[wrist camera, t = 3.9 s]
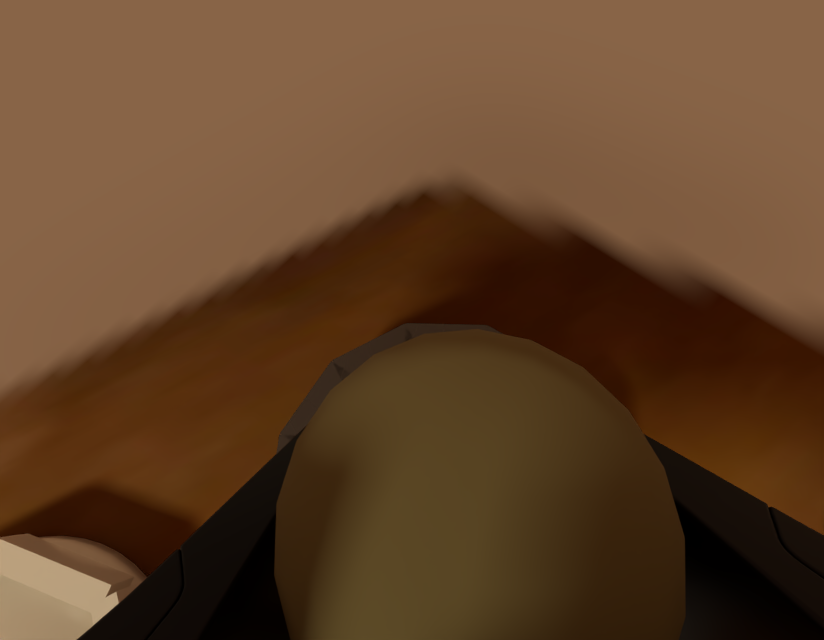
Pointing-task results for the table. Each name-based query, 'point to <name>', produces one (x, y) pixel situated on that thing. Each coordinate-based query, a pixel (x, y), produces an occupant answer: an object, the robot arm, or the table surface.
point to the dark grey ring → (352, 361)
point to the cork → (476, 504)
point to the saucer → (59, 585)
